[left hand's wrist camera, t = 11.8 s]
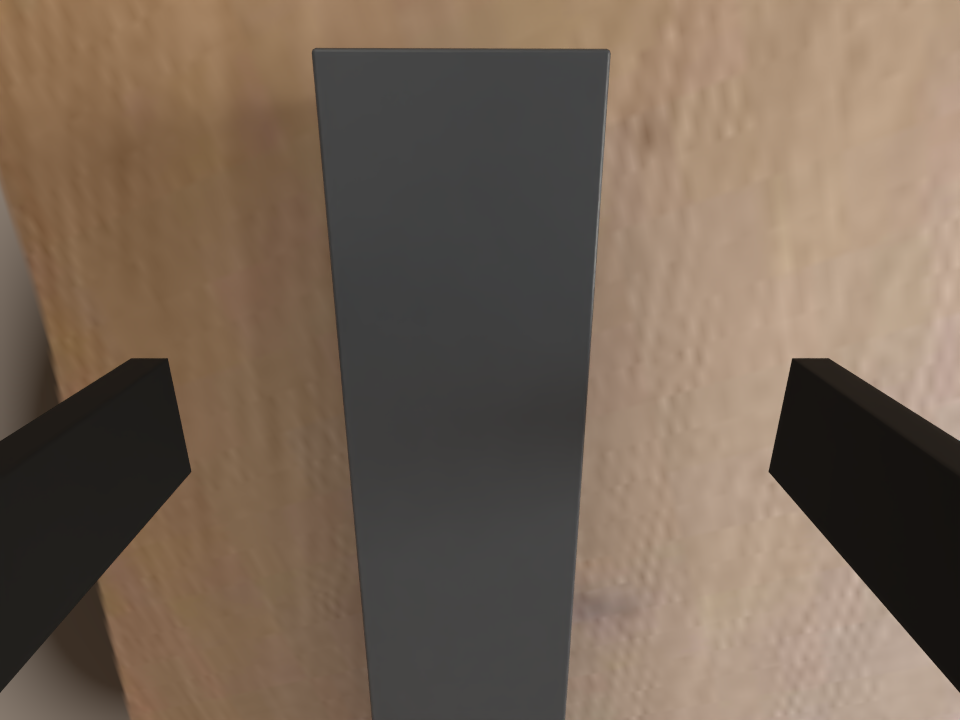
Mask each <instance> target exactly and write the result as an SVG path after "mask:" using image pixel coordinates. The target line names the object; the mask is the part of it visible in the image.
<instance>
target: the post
mask: <svg viewBox="0 0 960 720" xmlns="http://www.w3.org/2000/svg"><path fill="white" fill-rule="evenodd" d="M312 60H313V71H314V82H315V93H316V104H317V115H318V127H319V138H320V149H321V160H322V171H323V182H324V193H325V204H326V215H327V226H328V237H329V248H330V259H331V270H332V281H333V292H334V303H335V314H336V325H337V336H338V348H339V359H340V370H341V381H342V392H343V403H344V414H345V425H346V436H347V447H348V458H349V469H350V480H351V491H352V502H353V513H354V524H355V535H356V546H357V558H358V569H359V580H360V591H361V602H362V613H363V624H364V635H365V646H366V657H367V668H368V679H369V690H370V701H371V712H372V720H565V713H566V698H567V684H568V669H569V654H570V640H571V625H572V611H573V596H574V581H575V567H576V552H577V537H578V523H579V508H580V493H581V479H582V464H583V450H584V435H585V420H586V406H587V391H588V376H589V362H590V347H591V332H592V318H593V303H594V289H595V274H596V259H597V245H598V230H599V215H600V201H601V186H602V171H603V157H604V142H605V128H606V113H607V98H608V84H609V69H610V50H608V49H464V48H315V49H313V51H312Z"/></svg>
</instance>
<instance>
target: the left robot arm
mask: <svg viewBox="0 0 960 720" xmlns="http://www.w3.org/2000/svg"><path fill="white" fill-rule="evenodd" d="M190 473H191V468H190V463H189V458H188V453H187V448H186V444H185V439H184V434H183V429H182V424H181V420H180V415H179V410H178V405H177V401H176V396H175V391H174V386H173V381H172V377H171V372H170V367H169V362H168V358H131V359H130V360H128V361H126V362H125V363H123V364H122V365H120V366H118V367H117V368H115V369H114V370H112V371H111V372H109V373H107V374H106V375H104V376H103V377H101V378H99V379H98V380H96V381H95V382H93V383H92V384H90V385H88V386H87V387H85V388H84V389H82V390H80V391H79V392H77V393H76V394H74V395H73V396H71V397H69V398H68V399H66V400H65V401H63V402H61V403H60V404H58V405H57V406H55V407H54V408H52V409H50V410H49V411H47V412H46V413H44V414H42V415H41V416H39V417H38V418H36V419H35V420H33V421H31V422H30V423H28V424H27V425H25V426H23V427H22V428H20V429H19V430H17V431H16V432H14V433H12V434H11V435H9V436H8V437H6V438H5V439H3V440H1V441H0V692H1V691H2V690H3V689H4V688H5V687H6V685H7V684H8V683H9V682H10V681H11V680H12V678H13V677H14V676H15V675H16V674H17V673H18V671H19V670H20V669H21V668H22V667H23V666H24V665H25V663H26V662H27V661H28V660H29V659H30V658H31V656H32V655H33V654H34V653H35V652H36V651H37V650H38V648H39V647H40V646H41V645H42V644H43V643H44V641H45V640H46V639H47V638H48V637H49V636H50V634H51V633H52V632H53V631H54V630H55V629H56V628H57V626H58V625H59V624H60V623H61V622H62V621H63V619H64V618H65V617H66V616H67V615H68V614H69V613H70V611H71V610H72V609H73V608H74V607H75V606H76V604H77V603H78V602H79V601H80V600H81V599H82V598H83V596H84V595H85V594H86V593H87V592H88V591H89V589H90V588H91V587H92V586H93V585H94V584H95V582H96V581H97V580H98V579H99V578H100V577H101V576H102V574H103V573H104V572H105V571H106V570H107V569H108V567H109V566H110V565H111V564H112V563H113V562H114V561H115V559H116V558H117V557H118V556H119V555H120V554H121V552H122V551H123V550H124V549H125V548H126V547H127V546H128V544H129V543H130V542H131V541H132V540H133V539H134V537H135V536H136V535H137V534H138V533H139V532H140V530H141V529H142V528H143V527H144V526H145V525H146V524H147V522H148V521H149V520H150V519H151V518H152V517H153V515H154V514H155V513H156V512H157V511H158V510H159V509H160V507H161V506H162V505H163V504H164V503H165V502H166V500H167V499H168V498H169V497H170V496H171V495H172V494H173V492H174V491H175V490H176V489H177V488H178V487H179V485H180V484H181V483H182V482H183V481H184V480H185V478H186V477H187V476H188V475H189V474H190ZM769 473H770V474H771V475H772V476H773V477H774V478H775V480H776V481H777V482H778V483H779V484H780V485H781V487H782V488H783V489H784V490H785V491H786V492H787V494H788V495H789V496H790V497H791V498H792V499H793V500H794V502H795V503H796V504H797V505H798V506H799V507H800V509H801V510H802V511H803V512H804V513H805V514H806V515H807V517H808V518H809V519H810V520H811V521H812V522H813V524H814V525H815V526H816V527H817V528H818V529H819V530H820V532H821V533H822V534H823V535H824V536H825V537H826V539H827V540H828V541H829V542H830V543H831V544H832V546H833V547H834V548H835V549H836V550H837V551H838V552H839V554H840V555H841V556H842V557H843V558H844V559H845V561H846V562H847V563H848V564H849V565H850V566H851V567H852V569H853V570H854V571H855V572H856V573H857V574H858V576H859V577H860V578H861V579H862V580H863V581H864V583H865V584H866V585H867V586H868V587H869V588H870V589H871V591H872V592H873V593H874V594H875V595H876V596H877V598H878V599H879V600H880V601H881V602H882V603H883V604H884V606H885V607H886V608H887V609H888V610H889V611H890V613H891V614H892V615H893V616H894V617H895V618H896V619H897V621H898V622H899V623H900V624H901V625H902V626H903V628H904V629H905V630H906V631H907V632H908V633H909V635H910V636H911V637H912V638H913V639H914V640H915V641H916V643H917V644H918V645H919V646H920V647H921V648H922V650H923V651H924V652H925V653H926V654H927V655H928V656H929V658H930V659H931V660H932V661H933V662H934V663H935V665H936V666H937V667H938V668H939V669H940V670H941V671H942V673H943V674H944V675H945V676H946V677H947V678H948V680H949V681H950V682H951V683H952V684H953V685H954V687H955V688H956V689H957V690H958V691H959V692H960V441H959V440H957V439H956V438H954V437H952V436H951V435H949V434H948V433H946V432H944V431H943V430H941V429H940V428H938V427H937V426H935V425H933V424H932V423H930V422H929V421H927V420H925V419H924V418H922V417H921V416H919V415H918V414H916V413H914V412H913V411H911V410H910V409H908V408H906V407H905V406H903V405H902V404H900V403H899V402H897V401H895V400H894V399H892V398H891V397H889V396H887V395H886V394H884V393H883V392H881V391H880V390H878V389H876V388H875V387H873V386H872V385H870V384H868V383H867V382H865V381H864V380H862V379H861V378H859V377H857V376H856V375H854V374H853V373H851V372H849V371H848V370H846V369H845V368H843V367H842V366H840V365H838V364H837V363H835V362H834V361H832V360H830V359H829V358H792V362H791V367H790V372H789V377H788V381H787V386H786V391H785V396H784V401H783V405H782V410H781V415H780V420H779V424H778V429H777V434H776V439H775V444H774V448H773V453H772V458H771V463H770V468H769Z"/></svg>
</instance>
